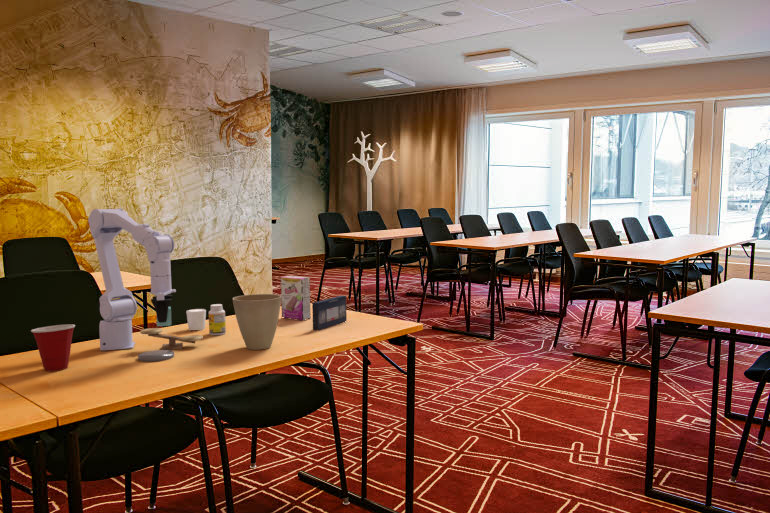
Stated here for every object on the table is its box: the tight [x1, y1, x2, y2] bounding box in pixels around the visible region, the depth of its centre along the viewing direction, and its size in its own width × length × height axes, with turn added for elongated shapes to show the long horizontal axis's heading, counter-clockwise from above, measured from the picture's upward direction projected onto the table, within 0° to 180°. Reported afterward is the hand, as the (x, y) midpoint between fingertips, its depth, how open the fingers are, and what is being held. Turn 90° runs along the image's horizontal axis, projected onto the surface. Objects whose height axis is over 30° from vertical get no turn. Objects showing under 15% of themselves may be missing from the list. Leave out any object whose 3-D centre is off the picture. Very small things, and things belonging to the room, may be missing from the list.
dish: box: [137, 349, 175, 363], centre depth 181 cm, size 10×10×1 cm
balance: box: [139, 327, 204, 351], centre depth 193 cm, size 18×6×6 cm, turn 106°
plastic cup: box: [30, 323, 76, 372], centre depth 170 cm, size 11×11×12 cm
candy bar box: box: [280, 275, 311, 321], centre depth 239 cm, size 11×5×16 cm, turn 58°
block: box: [156, 306, 172, 327], centre depth 183 cm, size 4×4×5 cm
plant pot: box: [232, 293, 281, 351], centre depth 192 cm, size 15×15×16 cm
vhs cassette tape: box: [311, 295, 348, 331], centre depth 225 cm, size 18×3×10 cm, turn 148°
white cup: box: [185, 308, 207, 331], centre depth 222 cm, size 7×7×7 cm
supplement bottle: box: [208, 303, 227, 336], centre depth 213 cm, size 6×6×10 cm
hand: (162, 320), depth 183 cm, fingers closed on block, 4 cm apart
